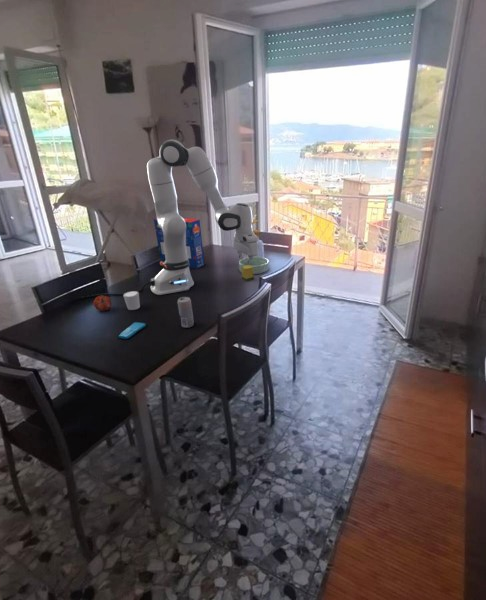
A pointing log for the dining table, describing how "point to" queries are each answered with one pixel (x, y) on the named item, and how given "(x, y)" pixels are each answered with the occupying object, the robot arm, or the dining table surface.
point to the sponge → (131, 330)
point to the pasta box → (192, 242)
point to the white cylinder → (132, 300)
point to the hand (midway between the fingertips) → (245, 260)
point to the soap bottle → (259, 244)
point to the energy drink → (185, 312)
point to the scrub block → (247, 273)
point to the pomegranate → (102, 303)
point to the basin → (255, 264)
